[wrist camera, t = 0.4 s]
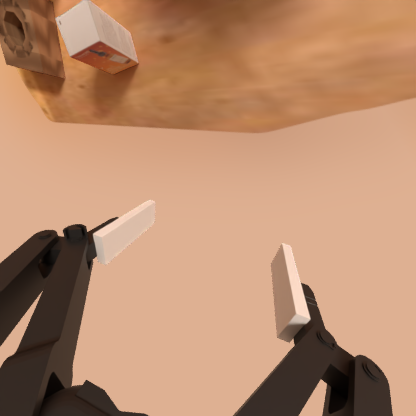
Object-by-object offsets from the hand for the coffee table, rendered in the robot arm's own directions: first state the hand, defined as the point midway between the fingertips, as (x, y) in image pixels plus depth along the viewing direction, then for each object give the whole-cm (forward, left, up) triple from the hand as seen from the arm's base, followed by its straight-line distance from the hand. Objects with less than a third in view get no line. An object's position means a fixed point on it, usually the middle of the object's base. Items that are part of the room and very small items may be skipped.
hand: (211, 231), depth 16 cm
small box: (-19, -34, -28) cm, 48 cm away
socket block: (-19, -58, -28) cm, 67 cm away
